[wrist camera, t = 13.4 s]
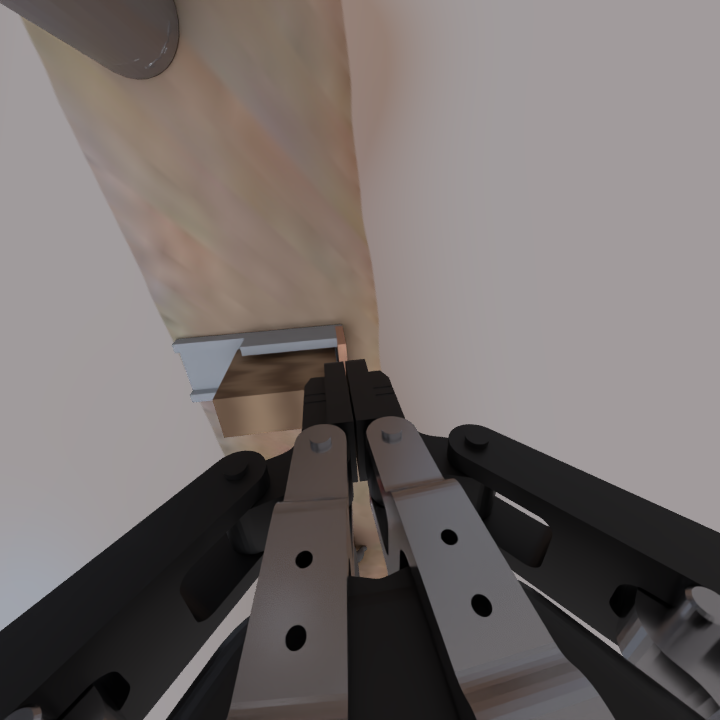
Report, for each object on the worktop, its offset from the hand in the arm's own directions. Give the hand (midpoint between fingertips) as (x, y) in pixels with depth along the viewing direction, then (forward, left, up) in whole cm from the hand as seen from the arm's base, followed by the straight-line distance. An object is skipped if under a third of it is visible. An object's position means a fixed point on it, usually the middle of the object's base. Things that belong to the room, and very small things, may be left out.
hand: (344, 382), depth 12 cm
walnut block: (+6, -15, -30) cm, 34 cm away
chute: (+3, -17, -31) cm, 35 cm away
